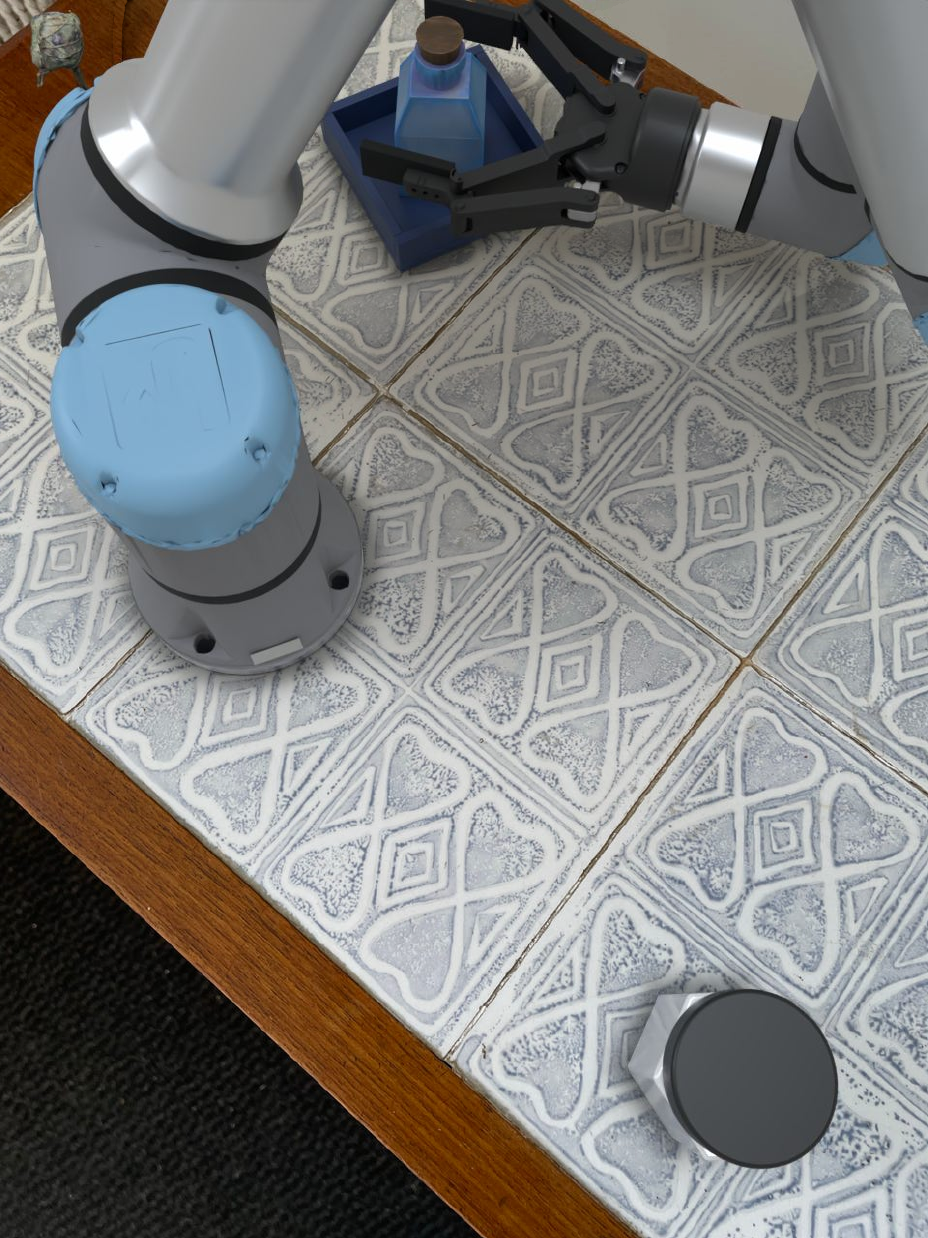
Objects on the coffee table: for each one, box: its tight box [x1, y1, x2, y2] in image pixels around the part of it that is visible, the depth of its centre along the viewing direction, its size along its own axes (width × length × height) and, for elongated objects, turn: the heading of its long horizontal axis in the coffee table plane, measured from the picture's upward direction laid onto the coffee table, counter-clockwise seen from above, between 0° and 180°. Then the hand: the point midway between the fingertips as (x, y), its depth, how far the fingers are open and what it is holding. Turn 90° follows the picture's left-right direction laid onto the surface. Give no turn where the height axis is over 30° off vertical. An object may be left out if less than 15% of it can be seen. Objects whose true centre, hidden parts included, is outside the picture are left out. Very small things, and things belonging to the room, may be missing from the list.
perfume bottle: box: [395, 16, 487, 197], centre depth 79 cm, size 6×6×12 cm
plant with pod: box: [29, 11, 89, 90], centre depth 75 cm, size 8×11×20 cm
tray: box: [320, 43, 566, 273], centre depth 84 cm, size 14×14×3 cm
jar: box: [627, 988, 839, 1170], centre depth 60 cm, size 9×8×12 cm
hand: (394, 81), depth 78 cm, fingers open, 13 cm apart
